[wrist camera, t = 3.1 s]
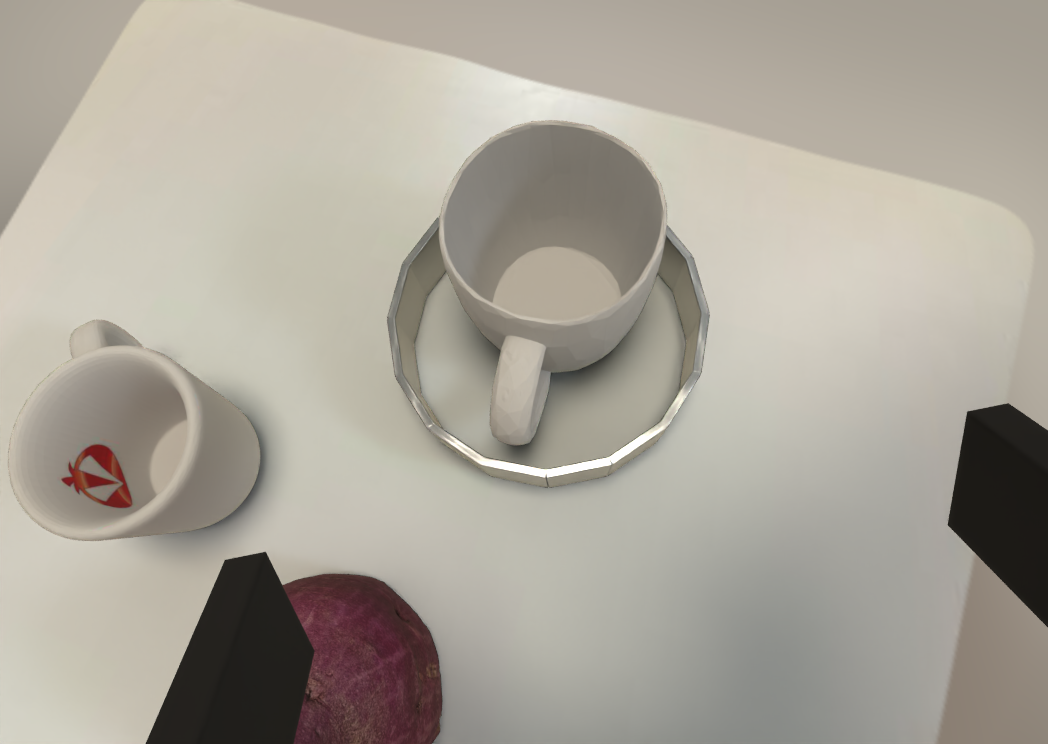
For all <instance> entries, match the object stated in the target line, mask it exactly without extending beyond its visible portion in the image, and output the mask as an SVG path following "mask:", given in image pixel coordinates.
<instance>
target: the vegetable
mask: <svg viewBox="0 0 1048 744" xmlns="http://www.w3.org/2000/svg"><path fill="white" fill-rule="evenodd" d="M282 586H283V588H284V590H285V592H286V594H287V596H288V598H289V600H290V602H291V604H292V606H293V608H294V610H295V612H296V614H297V616H298V618H299V620H300V622H301V624H302V626H303V628H304V630H305V632H306V634H307V636H308V638H309V640H310V642H311V644H312V646H313V648H314V650H315V652H314V656H313V661H312V665H311V669H310V674H309V678H308V683H307V687H306V691H305V696H304V700H303V705H302V709H301V713H300V718H299V722H298V727H297V731H296V736H295V740H294V744H432V743H433V741H434V740H435V738H436V737H437V735H438V734H439V732H440V724H439V718H440V717H441V716H442V714H441V711H442V693H441V679H440V672H439V660H438V655H437V651H436V648H435V645H434V642H433V640H432V637H431V634H430V632H429V630H428V628H427V627H426V626H425V625H424V624H423V622H422V621H421V619H420V618H419V617H418V615H417V614H416V613H415V612H414V611H413V610H412V609H411V607H410V606H409V605H408V604H407V603H406V602H405V601H404V600H403V599H401V597H399V596H398V595H397V594H396V593H395V592H394V591H393V590H392V589H391V588H390V587H388V586H387V585H386V584H385V583H384V582H382V581H379V580H377V579H375V578H372V577H366V576H360V575H349V574H347V575H346V574H322V575H317V576H313V577H307V578H303V579H298V580H295V581H292V582H290V583H287V584H285V585H282Z"/></svg>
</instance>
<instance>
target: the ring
mask: <svg viewBox="0 0 1048 744" xmlns="http://www.w3.org/2000/svg"><path fill="white" fill-rule="evenodd" d="M403 263H404V264H402V266H401V270H400V273H399V277H398V281H397V284H396V288H395V292H394V295H393V299H392V302H391V306H390V310H389V313H388V317H387V318H388V319H387V323H388V330H389V337H390V345H391V352H392V359H393V366H394V373H395V377H396V380H397V381H398V383H399V384H400V386H401V388H402V389H403V391H404V392H405V394H406V396H407V397H408V399H409V401H410V402H411V404H412V405H413V407H414V409H415V410H416V412H417V413H418V415H419V417H420V418H421V420H422V421H423V423H424V425H425V426H426V428H427V429H428V430H429V431H430V432H431V433H432V434H433V435H434V436H436V437H437V438H438V439H439V440H440V441H441V442H442V443H443V444H444V445H445V446H447V447H448V448H450V449H451V450H453V451H454V452H456V453H457V454H459V455H460V456H462V457H463V458H464V459H466V460H467V461H469V462H470V463H472V464H473V465H475V466H476V467H478V468H479V469H481V470H482V471H483V472H485V473H486V474H488V475H489V476H492V477H496V478H501V479H506V480H511V481H516V482H520V483H525V484H530V485H535V486H540V487H545V488H548V487H549V488H552V487H557V486H562V485H567V484H572V483H577V482H582V481H587V480H592V479H597V478H602V477H606V476H607V475H608V476H609V475H610V474H612V473H613V472H615V471H616V470H618V469H619V468H621V467H622V466H623V465H625V464H626V463H628V462H629V461H631V460H632V459H634V458H635V457H637V456H638V455H640V454H641V453H643V452H644V451H645V450H647V449H648V448H650V447H651V446H653V445H654V444H655V443H656V442H657V441H658V440H659V438H660V437H661V436H662V434H663V433H664V432H665V430H666V429H667V427H668V426H669V424H670V423H671V421H672V420H673V418H674V417H675V415H676V413H677V412H678V410H679V409H680V407H681V405H682V404H683V402H684V401H685V399H686V398H687V396H688V394H689V393H690V391H691V390H692V388H693V386H694V385H695V383H696V382H697V380H698V378H699V377H700V375H701V373H702V366H703V359H704V351H705V344H706V337H707V330H708V323H709V316H710V315H709V309H708V306H707V302H706V299H705V295H704V292H703V289H702V285H701V282H700V278H699V275H698V271H697V268H696V265H695V261H694V258H693V257H692V254H691V253H690V252H689V251H688V250H687V248H686V247H685V246H684V245H683V244H682V242H681V241H680V240H679V239H678V238H677V236H676V235H675V234H674V233H673V232H672V230H671V229H670V228H669V227H668V225H667V231H666V238H665V244H664V249H663V254H662V259H661V262H660V266H659V269H658V272H657V273H658V274H659V275H660V277H661V278H662V279H663V280H664V282H665V283H666V284H667V285H668V287H669V288H670V289H671V290H672V292H673V295H674V298H675V302H676V305H677V309H678V313H679V316H680V320H681V323H682V327H683V331H684V334H685V338H686V347H685V353H684V360H683V367H682V374H681V381H680V387H679V393H678V394H677V396H676V397H675V399H674V400H673V402H672V404H671V405H670V407H669V408H668V410H667V411H666V413H665V415H664V416H663V418H662V419H661V421H660V422H659V423H658V424H656V425H655V426H653V427H652V428H650V429H649V430H647V431H646V432H644V433H643V434H641V435H640V436H638V437H637V438H635V439H634V440H632V441H631V442H630V443H628V444H627V445H625V446H624V447H622V448H621V449H619V450H618V451H616V452H615V453H613V454H612V455H610V456H609V457H605V458H600V459H595V460H590V461H585V462H580V463H575V464H570V465H565V466H560V467H555V468H550V469H542V468H537V467H532V466H527V465H522V464H517V463H512V462H507V461H502V460H497V459H491V458H486V457H484V456H482V455H481V454H479V453H478V452H476V451H475V450H473V449H472V448H470V447H469V446H467V445H466V444H464V443H463V442H461V441H460V440H458V439H457V438H456V437H454V436H453V435H451V434H450V433H448V432H447V431H445V430H444V429H443V428H442V426H441V425H440V423H439V421H438V420H437V418H436V417H435V415H434V414H433V412H432V410H431V409H430V407H429V406H428V404H427V402H426V401H425V399H424V398H423V396H422V395H421V388H420V381H419V375H418V368H417V361H416V355H415V348H414V343H415V339H416V335H417V331H418V328H419V324H420V320H421V316H422V312H423V308H424V305H425V301H426V297H427V296H428V294H429V293H430V292H431V290H432V289H433V288H434V286H435V285H436V284H437V282H438V281H439V280H440V278H441V277H442V276H443V274H444V273H445V272H446V269H445V265H444V261H443V257H442V252H441V248H440V242H439V218H437V219H436V220H435V221H434V223H433V224H432V225H431V227H430V228H429V229H428V230H427V232H426V233H425V234H424V236H423V237H422V238H421V239H420V241H419V242H418V243H417V245H416V246H415V247H414V249H413V250H412V251H411V252H410V254H409V255H408V256H407V258H406V259H405V260H404V262H403Z"/></svg>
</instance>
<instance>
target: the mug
mask: <svg viewBox="0 0 1048 744" xmlns="http://www.w3.org/2000/svg"><path fill="white" fill-rule="evenodd" d="M666 231H667V204H666V200H665V197H664V193H663V189H662V186H661V183H660V181H659V180H658V178H657V176H656V175H655V173H654V171H653V170H652V168H651V166H650V165H649V163H648V162H647V161H646V160H645V159H644V158H643V157H642V156H641V155H640V154H639V153H638V152H637V151H636V150H634V149H633V148H631V147H630V146H628V145H627V144H625V143H624V142H623V141H621V140H619V139H618V138H616V137H614V136H611V135H609V134H607V133H605V132H603V131H601V130H599V129H597V128H595V127H593V126H589V125H584V124H578V123H573V122H567V121H552V120H548V121H532V122H528V123H524V124H520V125H516V126H513V127H511V128H509V129H507V130H505V131H503V132H501V133H499V134H497V135H495V136H493V137H491V138H490V139H489V140H487V141H486V142H485V143H484V144H483V145H481V146H480V147H479V148H478V149H477V150H475V151H474V152H473V153H472V154H471V155H470V156H469V157H468V158H467V159H466V161H465V162H464V164H463V165H462V167H461V168H460V170H459V171H458V173H457V174H456V176H455V177H454V179H453V180H452V182H451V184H450V187H449V189H448V191H447V193H446V196H445V199H444V202H443V205H442V209H441V212H440V216H439V242H440V248H441V252H442V257H443V261H444V265H445V269H446V271H447V273H448V276H449V278H450V280H451V283H452V285H453V287H454V290H455V292H456V294H457V296H458V298H459V300H460V302H461V304H462V306H463V308H464V310H465V311H466V313H467V314H468V315H469V317H470V318H471V319H472V321H473V322H474V324H475V325H476V326H477V328H478V329H479V330H480V332H481V333H482V334H483V335H484V336H485V337H486V338H487V339H488V340H489V341H491V342H492V343H493V344H494V345H495V346H496V347H497V348H498V349H500V350H501V353H500V357H499V361H498V366H497V370H496V374H495V379H494V383H493V388H492V398H491V408H490V427H491V431H492V434H493V436H494V437H495V438H497V439H498V440H499V441H500V442H503V443H506V444H509V445H512V446H516V445H524V444H527V443H530V441H531V440H532V438H533V437H534V435H535V433H536V430H537V427H538V424H539V421H540V418H541V415H542V412H543V409H544V406H545V403H546V399H547V395H548V391H549V385H550V376H551V372H565V371H574V370H579V369H581V368H583V367H586V366H588V365H590V364H592V363H594V362H596V361H598V360H600V359H601V358H603V357H604V356H605V355H607V354H608V353H609V352H610V351H612V350H613V349H614V348H615V347H616V346H617V345H618V343H619V342H620V341H621V340H622V339H623V337H624V336H625V335H626V334H627V333H628V331H629V330H630V329H631V327H632V326H633V324H634V323H635V321H636V319H637V318H638V316H639V314H640V313H641V311H642V309H643V307H644V305H645V303H646V301H647V298H648V296H649V294H650V292H651V290H652V288H653V285H654V282H655V279H656V275H657V272H658V269H659V266H660V262H661V259H662V254H663V249H664V244H665V238H666Z"/></svg>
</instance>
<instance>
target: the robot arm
mask: <svg viewBox="0 0 1048 744" xmlns="http://www.w3.org/2000/svg"><path fill="white" fill-rule="evenodd" d="M948 526H949V527H950V528H951V529H952V530H953V531H954V532H955V533H956V534H957V535H958V536H959V537H960V538H961V539H962V540H963V541H964V542H965V543H966V544H967V545H968V546H969V547H970V548H971V549H972V550H973V551H974V552H975V553H976V554H977V555H978V556H979V557H980V558H981V560H982V561H984V563H985V564H986V565H987V566H988V567H990V569H991V570H992V571H993V572H994V573H995V574H996V575H997V576H998V577H999V578H1000V579H1001V580H1002V581H1003V582H1004V583H1005V584H1006V585H1007V586H1008V587H1009V588H1010V589H1011V590H1012V591H1013V592H1014V593H1015V594H1016V595H1017V596H1018V597H1019V598H1020V599H1021V601H1022V602H1023V603H1025V605H1026V606H1027V607H1028V608H1029V609H1030V610H1031V611H1032V612H1033V613H1034V614H1035V615H1036V616H1037V617H1038V618H1039V619H1040V620H1041V621H1042V622H1043V623H1044V624H1045V625H1046V626H1047V627H1048V430H1046V429H1045V428H1043V427H1042V426H1040V425H1039V424H1038V423H1036V422H1035V421H1033V420H1032V419H1030V418H1029V417H1027V416H1026V415H1025V414H1023V413H1022V412H1020V411H1019V410H1017V409H1016V408H1014V407H1013V406H1011V405H1010V404H1009V403H1008V404H1003V405H998V406H993V407H988V408H983V409H978V410H973V411H968V412H967V416H966V422H965V428H964V433H963V439H962V445H961V451H960V457H959V462H958V468H957V474H956V480H955V485H954V491H953V497H952V503H951V508H950V514H949V520H948ZM314 652H315V650H314V648H313V646H312V644H311V642H310V640H309V638H308V636H307V634H306V632H305V630H304V628H303V626H302V624H301V622H300V620H299V618H298V616H297V614H296V612H295V610H294V608H293V606H292V604H291V602H290V600H289V598H288V596H287V594H286V592H285V590H284V588H283V586H282V584H281V582H280V580H279V578H278V576H277V574H276V572H275V570H274V568H273V566H272V564H271V562H270V560H269V558H268V556H267V554H266V552H263V553H258V554H253V555H248V556H243V557H238V558H233V559H228V560H225V561H224V564H223V566H222V568H221V571H220V573H219V575H218V578H217V580H216V582H215V584H214V587H213V589H212V591H211V594H210V596H209V598H208V601H207V603H206V605H205V608H204V610H203V612H202V615H201V617H200V619H199V621H198V624H197V626H196V628H195V631H194V633H193V635H192V638H191V640H190V642H189V645H188V647H187V649H186V652H185V654H184V656H183V659H182V661H181V663H180V665H179V668H178V670H177V672H176V675H175V677H174V679H173V682H172V684H171V686H170V689H169V691H168V693H167V696H166V698H165V700H164V703H163V705H162V707H161V709H160V712H159V714H158V716H157V719H156V721H155V723H154V726H153V728H152V730H151V733H150V735H149V737H148V740H147V742H146V744H294V740H295V736H296V731H297V727H298V722H299V718H300V713H301V709H302V705H303V700H304V696H305V691H306V687H307V683H308V678H309V674H310V669H311V665H312V661H313V656H314Z"/></svg>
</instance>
